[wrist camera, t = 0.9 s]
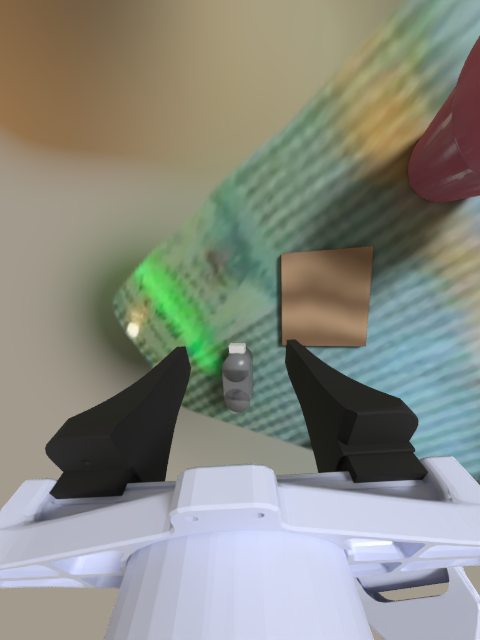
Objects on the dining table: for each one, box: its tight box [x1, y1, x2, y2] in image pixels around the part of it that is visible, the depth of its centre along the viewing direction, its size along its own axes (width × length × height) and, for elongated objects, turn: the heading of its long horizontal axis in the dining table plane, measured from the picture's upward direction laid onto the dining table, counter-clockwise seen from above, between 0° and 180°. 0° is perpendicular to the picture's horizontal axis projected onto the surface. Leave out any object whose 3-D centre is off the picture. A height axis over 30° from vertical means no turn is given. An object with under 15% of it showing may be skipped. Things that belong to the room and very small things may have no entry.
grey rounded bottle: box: [222, 343, 254, 412], centre depth 30 cm, size 10×4×5 cm, turn 2°
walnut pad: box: [281, 246, 374, 346], centre depth 27 cm, size 14×12×1 cm
